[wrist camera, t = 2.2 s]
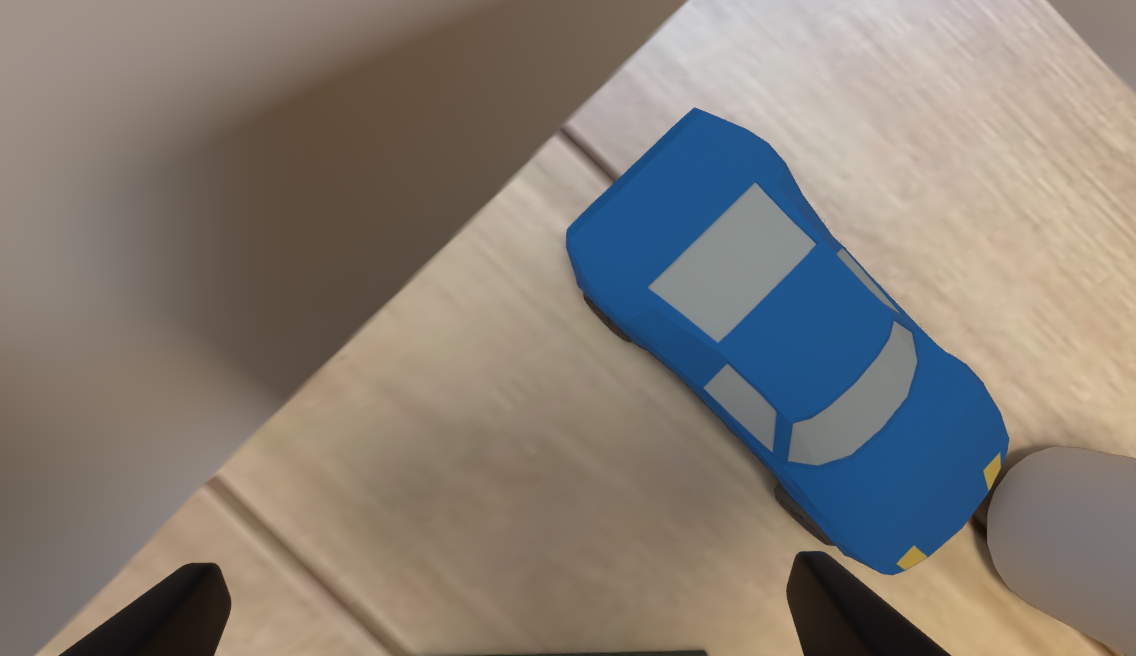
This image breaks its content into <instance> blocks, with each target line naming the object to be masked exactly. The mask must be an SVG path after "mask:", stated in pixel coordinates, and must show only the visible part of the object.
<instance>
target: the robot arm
mask: <svg viewBox="0 0 1136 656" xmlns="http://www.w3.org/2000/svg"><path fill="white" fill-rule="evenodd" d="M786 593H787V600H788V604H789V608H790V611H791V614H792V617H793V621H794V624H795V627H796V631H797V634H798V637H799V640H800V644H801V647H802V650H803V654H804V656H951V655H950V654H949V653H947V652H946V651H945V650H944V649H943V648H941V647H940V646H939V645H938V644H937V643H935V642H934V641H933V640H932V639H930V638H929V637H928V636H927V635H926V634H924V633H923V632H922V631H921V630H920V629H918V628H917V627H916V626H915V625H913V624H912V623H911V622H910V621H909V620H907V619H906V618H905V617H904V616H902V615H901V614H900V613H899V612H898V611H896V610H895V609H894V608H893V607H892V606H890V605H889V604H888V603H887V602H885V601H884V600H883V599H882V598H881V597H879V596H878V595H877V594H876V593H875V592H873V591H872V590H871V589H870V588H868V587H867V586H866V585H865V584H864V583H862V582H861V581H860V580H859V579H858V578H856V577H855V576H854V575H853V574H851V573H850V572H849V571H848V570H847V569H845V568H844V567H843V566H842V565H840V564H839V563H838V562H837V561H836V560H834V559H833V558H832V557H831V556H829V555H828V554H826V553H824V552H821V551H802V552H799V553H798V554H797V555H796V557H795V559H794V563H793V566H792V570H791V573H790V576H789V580H788V583H787V590H786ZM230 611H231V597H230V594H229V591H228V588H227V586H226V583H225V580H224V577H223V575H222V572H221V569H220V567H219V566H218V565H217V564H215V563H189V564H186V565H184V566H182V567H181V568H179V569H178V570H176V571H175V572H173V573H172V574H171V575H169V576H168V577H166V578H165V579H164V580H162V581H161V582H160V583H158V584H157V585H155V586H154V587H153V588H151V589H150V590H149V591H147V592H146V593H144V594H143V595H142V596H140V597H139V598H138V599H136V600H135V601H133V602H132V603H131V604H129V605H128V606H126V607H125V608H124V609H122V610H121V611H120V612H118V613H117V614H115V615H114V616H113V617H111V618H110V619H109V620H107V621H106V622H104V623H103V624H102V625H100V626H99V627H98V628H96V629H95V630H93V631H92V632H91V633H89V634H88V635H86V636H85V637H84V638H82V639H81V640H80V641H78V642H77V643H75V644H74V645H73V646H71V647H70V648H69V649H67V650H66V651H64V652H63V653H62V654H60V655H59V656H214V654H215V652H216V649H217V646H218V644H219V641H220V639H221V636H222V633H223V631H224V628H225V626H226V623H227V620H228V618H229V615H230Z"/></svg>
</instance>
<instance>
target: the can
mask: <svg viewBox="0 0 1136 656" xmlns="http://www.w3.org/2000/svg"><path fill="white" fill-rule="evenodd" d="M987 543H988V547H989V550H990V553H991V556H992V560H993V563H994V566H995V568H996V570H997V571H998V573H999V574H1000V576H1001V577H1002V579H1003V580H1004V582H1005V583H1006V585H1007V586H1008V588H1009V589H1010V590H1011V591H1013V592H1014V593H1015V594H1016V595H1018V596H1019V597H1020V598H1021V599H1023V600H1024V601H1025V602H1027V603H1028V604H1029V605H1031V606H1032V607H1034V608H1036V609H1038V610H1040V611H1042V612H1044V613H1046V614H1048V615H1050V616H1051V617H1053V618H1055V619H1057V620H1059V621H1061V622H1063V623H1065V624H1067V625H1068V626H1070V627H1072V628H1074V629H1076V630H1078V631H1080V632H1082V633H1084V634H1086V635H1087V636H1089V637H1091V638H1093V639H1095V640H1097V641H1099V642H1101V643H1103V644H1104V645H1106V646H1108V647H1110V648H1112V649H1114V650H1116V651H1118V652H1120V653H1122V654H1123V655H1125V656H1136V458H1132V457H1126V456H1121V455H1116V454H1110V453H1105V452H1100V451H1094V450H1089V449H1083V448H1078V447H1051V448H1048V449H1045V450H1042V451H1039V452H1036V453H1032V454H1030V455H1028V456H1027V457H1026V458H1024V459H1023V460H1022V461H1020V462H1019V463H1017V464H1016V465H1015V466H1013V467H1012V468H1011V469H1010V470H1009V471H1008V472H1007V474H1006V475H1005V477H1004V478H1003V480H1002V481H1001V482H1000V484H999V485H998V487H997V488H996V490H995V492H994V493H993V496H992V499H991V502H990V505H989V509H988V512H987Z"/></svg>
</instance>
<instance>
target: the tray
mask: <svg viewBox="0 0 1136 656" xmlns="http://www.w3.org/2000/svg"><path fill="white" fill-rule="evenodd" d="M487 656H707V654H706V652H705V651H683V652H634V653H585V654H536V655H487Z"/></svg>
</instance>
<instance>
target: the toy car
mask: <svg viewBox="0 0 1136 656" xmlns="http://www.w3.org/2000/svg"><path fill="white" fill-rule="evenodd" d="M566 248H567V252H568V255H569V258H570V261H571V264H572V267H573V270H574V273H575V276H576V281H577V285H578V287H579V288H580V289H582V291H583V296H584V300H585V301H586V303H587V304H588V305H589V307H590V308H591V309H592V310H593V312H594V313H595V314H596V315H597V316H598V317H599V318H600V319H601V320H602V321H603V322H604V323H605V324H606V325H607V326H608V327H609V328H610V329H611V330H612V331H613V332H614V333H616V334H617V335H618V336H619V337H621V338H622V339H623V340H625V341H630V342H635V343H636V344H637V345H639V346H640V347H642V348H644V349H646V350H648V351H650V352H651V353H652V354H653V355H654V356H656V357H657V358H658V359H659V360H660V361H661V362H663V363H664V364H665V365H666V366H667V367H668V368H669V369H671V370H672V371H673V372H674V373H675V374H676V375H678V376H679V377H680V378H681V379H682V380H683V381H684V382H685V383H686V384H687V385H688V386H689V387H690V388H691V389H692V390H693V391H694V392H695V393H696V394H697V395H698V396H699V397H700V398H701V399H702V400H703V401H704V403H705V404H706V405H707V406H708V407H709V408H710V409H711V410H712V411H713V412H714V413H715V414H716V415H717V416H718V417H719V418H720V419H721V420H722V421H723V422H724V423H725V424H726V425H727V426H728V427H729V428H730V429H731V430H732V432H733V433H734V434H735V435H736V436H737V437H738V438H739V439H740V440H741V441H742V442H743V443H744V444H745V445H746V446H747V447H748V448H749V449H750V450H751V451H752V452H753V453H754V454H755V455H756V456H757V457H758V458H759V459H760V460H761V461H762V462H763V463H764V464H765V465H766V466H767V467H768V469H769V470H770V471H771V472H772V473H773V474H774V475H775V476H776V478H777V479H778V481H779V483H778V485H777V486H776V487H775V488H774V492H775V498H776V499H777V501H778V502H779V503H780V504H781V505H782V507H783V508H784V509H785V510H786V511H787V512H788V513H789V514H790V515H791V516H792V517H793V518H794V519H795V520H796V521H797V522H799V523H800V524H801V525H802V526H803V527H804V528H805V529H806V530H807V531H809V532H810V533H811V534H812V535H813V536H815V537H816V538H817V539H818V540H820V541H821V542H822V543H824V544H826V545H831V546H837V547H838V549H839V550H840V551H841V552H842V553H843V554H844V555H845V556H848V557H851V558H853V559H855V560H857V561H858V562H860V563H862V564H864V565H866V566H868V567H870V568H872V569H874V570H876V571H878V572H880V573H881V574H887V575H894V574H897V573H900V572H903V571H905V570H907V569H909V568H910V567H912V566H914V565H916V564H917V563H919V562H921V561H922V560H924V559H926V558H928V557H929V556H930V555H931V554H933V553H934V552H935V551H936V550H937V549H938V548H940V547H941V546H942V545H943V544H944V543H945V542H947V541H948V540H949V539H950V538H951V537H952V536H953V535H955V534H956V533H957V532H958V531H959V530H960V529H962V527H963V526H964V525H965V523H966V522H967V521H968V519H969V518H970V517H971V515H972V514H973V513H974V511H975V510H976V509H977V507H978V506H979V505H980V503H981V502H982V501H983V499H984V498H985V496H986V495H987V494H988V492H989V490H990V488H991V486H992V484H993V482H994V480H995V478H996V476H997V474H998V472H999V470H1000V469H1001V466H1002V464H1003V461H1004V459H1005V457H1006V454H1007V451H1008V443H1009V437H1008V434H1007V431H1006V428H1005V425H1004V422H1003V419H1002V416H1001V413H1000V411H999V409H998V408H997V406H996V404H995V403H994V401H993V399H992V398H991V396H990V394H989V393H988V391H987V389H986V388H985V386H984V383H983V382H982V381H981V380H980V379H979V377H978V376H977V375H976V374H975V373H974V372H973V371H972V370H971V369H970V368H969V367H968V365H966V364H965V363H963V362H962V361H960V360H959V359H957V358H956V357H954V356H953V355H951V354H949V353H947V352H945V351H944V350H943V349H942V348H940V347H939V346H938V345H937V344H936V343H935V342H934V341H933V340H932V339H931V338H930V337H929V336H928V335H927V334H926V333H925V332H924V331H923V330H922V329H921V328H920V327H919V326H918V325H917V324H916V323H915V322H914V321H913V320H912V319H911V318H910V317H909V316H908V315H907V314H906V313H905V311H904V310H903V309H902V308H901V307H900V306H899V305H898V304H897V303H896V302H895V301H894V300H893V299H892V298H891V297H890V296H889V295H888V294H887V293H886V292H885V291H884V289H883V288H882V287H881V286H880V285H879V284H878V283H877V282H876V281H875V280H874V279H873V278H872V277H871V276H870V275H869V274H868V273H867V272H866V270H865V269H864V268H863V267H862V266H861V265H860V264H859V263H858V262H857V261H856V259H855V258H854V257H853V256H852V255H851V254H850V253H849V252H848V251H847V250H846V248H845V247H844V246H843V245H842V244H840V243H839V242H838V241H837V240H836V239H835V238H834V237H833V236H832V235H831V233H830V232H829V230H828V229H827V228H826V226H825V225H824V223H823V222H822V221H821V219H820V218H819V217H818V215H817V214H816V212H815V211H814V210H813V208H812V207H811V205H810V204H809V203H808V201H807V200H806V199H805V197H804V196H803V194H802V192H801V191H800V189H799V187H798V185H797V183H796V181H795V180H794V178H793V176H792V174H791V172H790V170H789V168H788V167H787V165H786V163H785V162H784V161H783V159H782V158H781V157H780V156H779V155H778V154H777V152H776V151H775V150H774V149H773V148H772V147H771V146H770V144H769V143H767V142H766V141H764V140H763V139H761V138H760V137H758V136H757V135H755V134H754V133H752V132H751V131H749V130H747V129H745V128H743V127H740V126H738V125H736V124H733V123H731V122H729V121H726V120H724V119H721V118H719V117H717V116H714V115H712V114H710V113H707V112H705V111H702V110H700V109H697V108H695V107H694V108H693V109H692V110H691V111H690V112H689V113H687V114H686V115H685V116H684V117H683V118H682V119H681V120H680V121H679V122H678V123H676V124H675V125H674V126H673V127H672V128H671V129H670V130H669V131H668V132H667V133H666V134H665V135H664V136H663V137H662V138H661V139H660V140H659V141H658V142H657V143H656V144H655V145H654V146H653V147H651V148H650V149H649V150H648V151H647V152H646V153H645V154H644V155H643V156H642V157H641V158H640V159H639V160H638V161H637V162H636V163H635V164H634V165H633V166H632V167H630V168H629V169H628V170H627V171H626V172H625V173H624V174H623V175H622V176H621V177H620V178H619V179H618V180H617V181H616V182H615V183H614V184H613V185H612V186H611V187H610V188H609V189H607V190H606V191H605V192H604V193H603V194H602V195H601V196H600V197H599V198H598V199H597V200H596V201H595V202H594V203H593V204H591V205H590V206H589V207H588V208H587V209H586V210H585V211H584V212H583V213H582V214H581V215H580V216H579V217H578V218H577V219H576V220H575V221H574V222H573V223H572V225H571V226H570V227H569V228H568V229H567V232H566Z"/></svg>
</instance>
